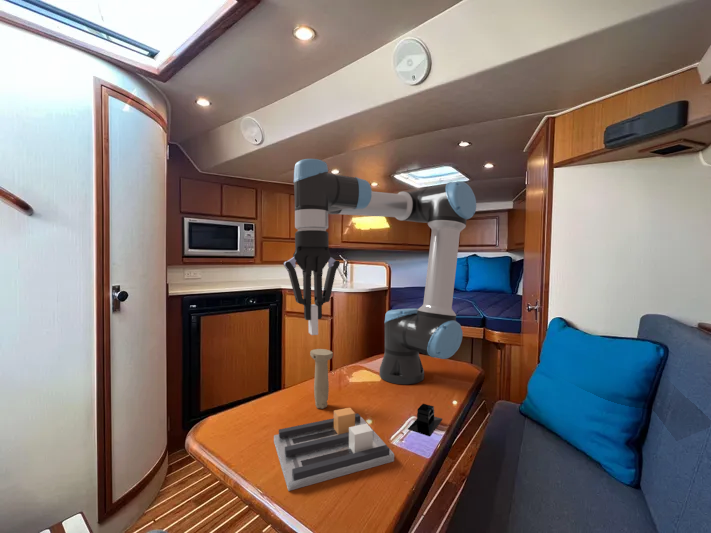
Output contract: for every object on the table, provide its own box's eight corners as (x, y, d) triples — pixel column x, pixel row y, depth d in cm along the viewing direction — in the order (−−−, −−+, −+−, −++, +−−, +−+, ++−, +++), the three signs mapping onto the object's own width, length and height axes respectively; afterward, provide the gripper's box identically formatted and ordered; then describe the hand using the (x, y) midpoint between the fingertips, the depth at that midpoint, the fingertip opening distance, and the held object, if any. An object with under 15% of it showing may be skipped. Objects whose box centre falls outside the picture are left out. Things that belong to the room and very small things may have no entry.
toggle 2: (366, 442, 67) (366, 423, 67) (372, 450, 64) (372, 430, 64) (348, 446, 65) (348, 427, 65) (354, 454, 63) (354, 434, 62)
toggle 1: (349, 424, 74) (350, 407, 74) (354, 430, 71) (355, 413, 71) (333, 427, 72) (333, 410, 72) (338, 434, 70) (338, 416, 70)
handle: (323, 413, 82) (323, 356, 82) (306, 406, 87) (306, 351, 86) (336, 407, 86) (336, 352, 86) (319, 400, 90) (319, 347, 90)
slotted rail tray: (358, 418, 77) (358, 413, 77) (389, 454, 63) (389, 448, 63) (278, 434, 70) (278, 429, 70) (293, 480, 55) (294, 473, 55)
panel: (361, 422, 78) (361, 416, 78) (394, 461, 63) (394, 453, 63) (273, 441, 70) (273, 434, 70) (288, 491, 55) (288, 482, 55)
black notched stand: (430, 442, 71) (431, 422, 70) (400, 433, 75) (400, 413, 74) (447, 419, 81) (447, 401, 81) (420, 411, 85) (420, 394, 85)
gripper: (333, 232, 78) (334, 327, 79) (279, 231, 73) (281, 333, 74) (344, 229, 71) (345, 334, 72) (286, 228, 66) (288, 340, 67)
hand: (313, 333), depth 73 cm, fingers closed
